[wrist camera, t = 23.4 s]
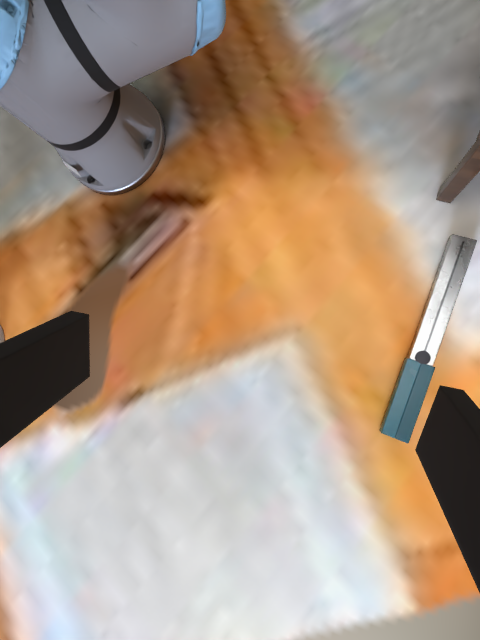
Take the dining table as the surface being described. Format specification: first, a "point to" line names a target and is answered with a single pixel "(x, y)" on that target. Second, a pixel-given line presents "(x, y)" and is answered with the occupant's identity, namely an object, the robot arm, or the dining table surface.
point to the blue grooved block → (427, 341)
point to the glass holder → (1, 335)
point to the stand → (461, 174)
